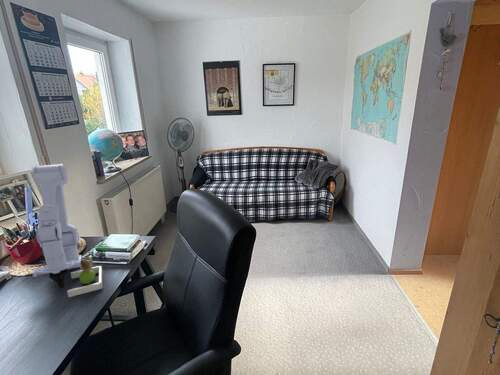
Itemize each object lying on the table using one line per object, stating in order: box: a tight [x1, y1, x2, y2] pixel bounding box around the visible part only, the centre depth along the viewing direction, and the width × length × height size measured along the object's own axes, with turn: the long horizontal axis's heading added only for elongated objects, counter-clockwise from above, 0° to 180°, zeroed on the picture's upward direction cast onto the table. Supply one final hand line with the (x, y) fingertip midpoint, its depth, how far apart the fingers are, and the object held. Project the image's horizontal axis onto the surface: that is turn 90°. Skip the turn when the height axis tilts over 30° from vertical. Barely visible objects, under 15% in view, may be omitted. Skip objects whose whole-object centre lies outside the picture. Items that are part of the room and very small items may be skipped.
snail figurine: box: [78, 256, 96, 285], centre depth 103 cm, size 5×6×12 cm
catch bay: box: [66, 265, 103, 298], centre depth 104 cm, size 13×11×2 cm
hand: (62, 286), depth 101 cm, fingers closed
